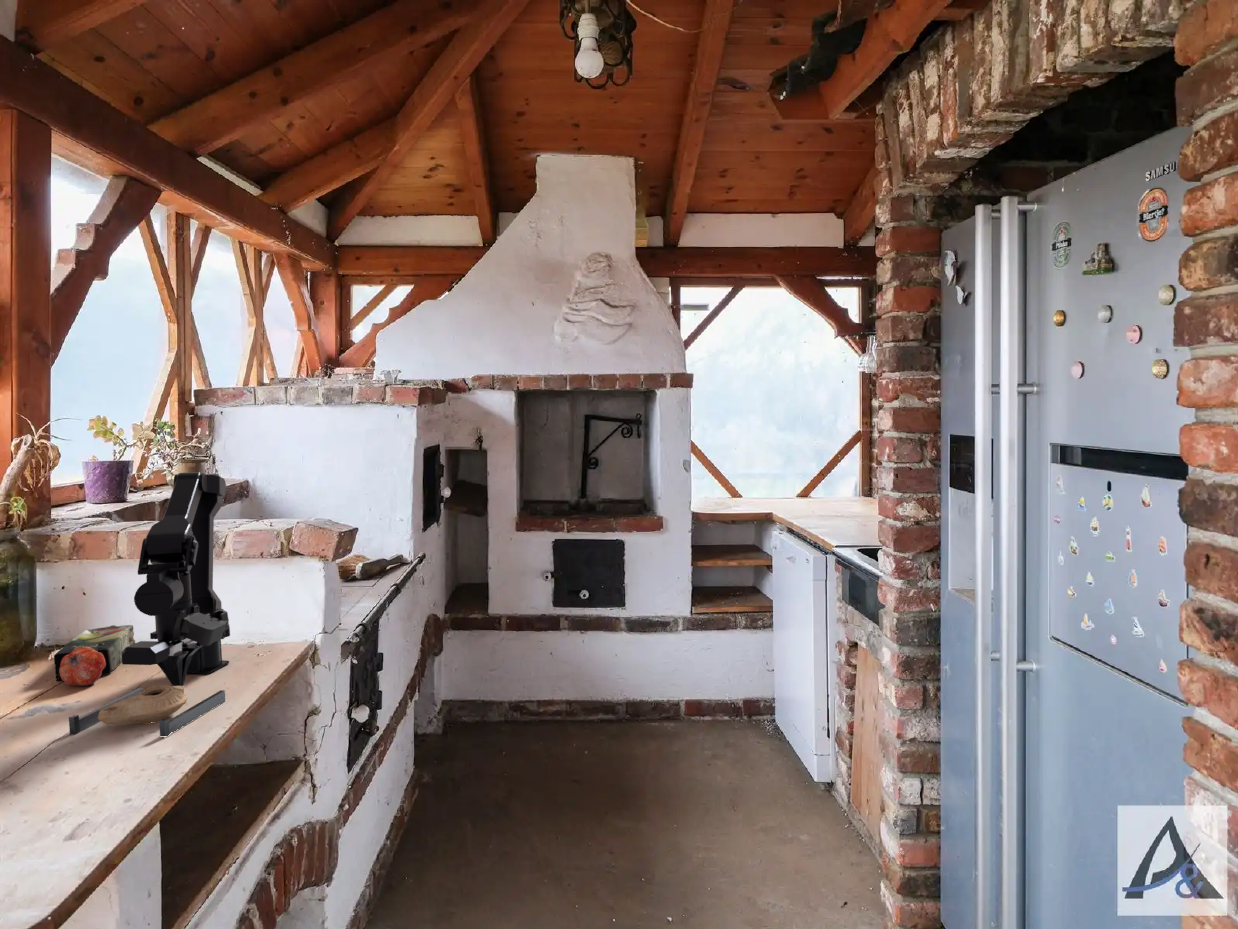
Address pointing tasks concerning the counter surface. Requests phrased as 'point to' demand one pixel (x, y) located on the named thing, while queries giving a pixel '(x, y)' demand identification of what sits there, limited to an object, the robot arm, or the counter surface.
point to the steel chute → (165, 724)
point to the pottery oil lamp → (145, 706)
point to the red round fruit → (82, 666)
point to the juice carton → (100, 645)
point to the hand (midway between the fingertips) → (178, 687)
